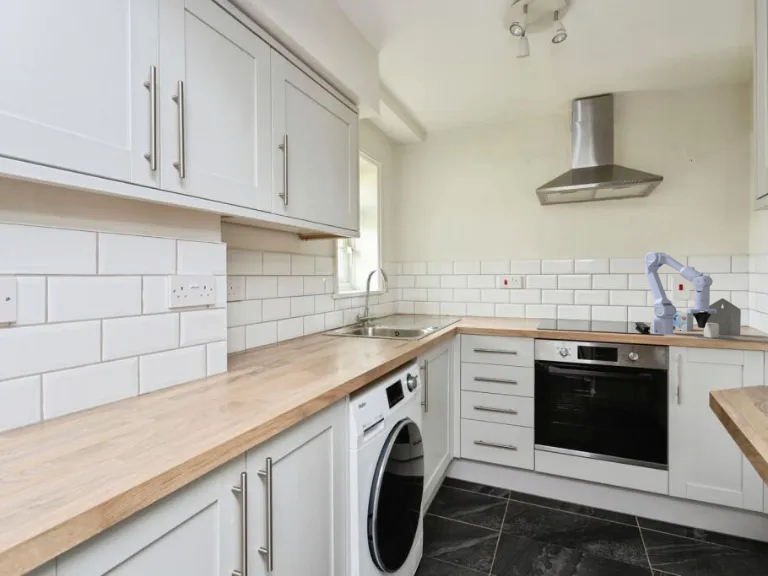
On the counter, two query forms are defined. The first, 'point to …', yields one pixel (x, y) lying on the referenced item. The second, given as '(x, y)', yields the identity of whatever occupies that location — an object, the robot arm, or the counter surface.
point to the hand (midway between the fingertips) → (701, 327)
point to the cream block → (711, 330)
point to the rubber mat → (716, 338)
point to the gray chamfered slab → (726, 317)
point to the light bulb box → (683, 321)
